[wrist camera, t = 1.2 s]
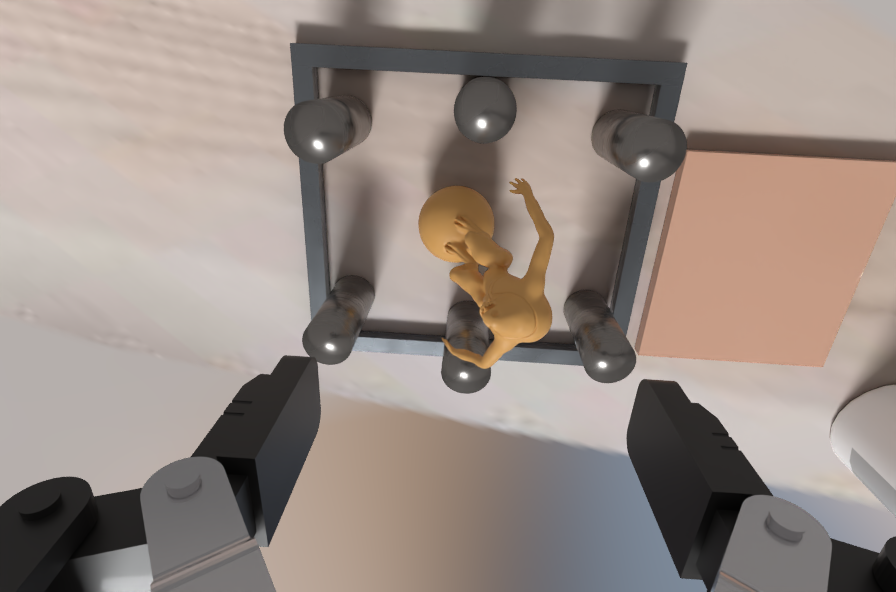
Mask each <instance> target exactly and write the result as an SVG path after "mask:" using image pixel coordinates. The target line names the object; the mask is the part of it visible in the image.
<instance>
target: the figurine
mask: <svg viewBox="0 0 896 592" xmlns="http://www.w3.org/2000/svg"><path fill="white" fill-rule="evenodd" d="M515 180H516V181H517V182H518V184H516V183H513V182H509V183H510V184H512V185H513V186H514V187H515V188H517V190H509V191H510V192H512V193H515V194H522V195H523V196H524V199H525V203H526V207H527V210H528V212H529V214H530V216H531V218H532V220H533V222H534V224H535V227H536V230H537V232H538V234H539V241H538V243H537V246H536V248H535V251H534V254H533V256H532V259H531V262H530V265H529V269H528V271H527V273H526V275H525V276H524V277H523V278H522V279H520V278H518V277H515V276H512V275H511V274H509V273H508V271H507V269H508V268H509V266H510V265H511V263H512V260H513V256H512V254H511V253H510V252H509V251H508V250H506V249H503V248H501V247H500V246H498V245H497V244H496V243H495V242H494V241H493V240H492V236H493V232H494V216H493V212H492V209H491V207H490V205H489V203H488V202H487V201H486V199H485V198H484V197H483V196H482V195H481V194H479V193H478V192H477V191H475V190H473V189H471V188H468V187H464V186H449V187H445V188H443V189H440V190H438V191H437V192H435V193H434V194H433V195H431V196H430V197H429V198H428V200H427V201H426V202H425V204H424V205H423V207H422V209H421V212H420V216H419V233H420V236H421V239H422V241H423V243H424V245H425V246H426V248H427V249H428V250H429V251H430V252H431V253H432V254H433V255H435V256H436V257H438V258H440V259H442V260H444V261H448V262H464V263H465V264H464V265H461V266H457V267H455V268H453V269H452V270H451V271H450V279H451V280H452V281H454V282H456V283H457V284H458V285H459V286H460V287H461V288H462V289H464V290H465V291H466V292H468V293H469V294H470V295H471V296H472V298H473V299H474V301H475V302H476V303H477V305H478V306H479V307H480V315H481V317H482V318H483V322H484V323H485V325H486V326H487V327H489V328H490V330H491V331H492V333H493V334H494V341H493V342H492V343H491V345H490V346H489V347H488V349H487V350H486V352H485V353H484V355H483V357H482V356H481V355H479V354H475V353H473V352H471V351H469V350H465V349H455V348H454V347H453V346H452V345H451V344H450V343H449V342H448V341H447V340H446V339H443V338H442V340H443V342H444V344H445V346H446V347H447V348H448V350H449V351H450V352H451V353H452V354H453V355H454V356H457V357H458V358H460V359H462V360H465V361H469V362H472V363H474V364H475V365H477V366H478V367H480V368H483V369H487V368H489V367H491V366H492V365H493V364H494V363H495V362H497V361H498V360H499V359H500V358H501V356H502V355H503V354H504V353H506V352H508V351H510V350H511V349H513V348H514V347H515V346H516V345H517V344H519V343H522V342H526V343H530V342H535V341H538V340H539V339H541V338H542V337H544V336H545V335H546V334H547V332H548V331H549V329H550V327H551V324H552V310H551V307H550V305H549V303H548V301H547V299H546V297H545V295H544V286H545V273H546V269H547V266H548V262H549V259H550V255H551V250H552V246H553V241H554V233H553V230H552V228H551V226H550V224H549V223H548V222H547V220H546V218H545V217H544V214H543V212H542V210H541V208H540V206H539V204H538V202H537V200H536V199H535V198H534V196H533V193H532V190H531V187H530V185H529V184H528V183H527V181H525V180H524V179H521V180H522V181H523V182H521V181H520V180H519V179H517V178H515ZM478 263H479V264H481V265H483V266H486V267H488V268H489V269H488V270H487V271H486V272H485V273H484V277H483V276H482V274H481V273H479V272H478V267H479V264H478Z"/></svg>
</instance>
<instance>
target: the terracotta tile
mask: <svg viewBox="0 0 896 592" xmlns="http://www.w3.org/2000/svg"><path fill="white" fill-rule="evenodd" d="M895 197H896V161H890V160H872V159H853V158H835V157H817V156H798V155H780V154H761V153H743V152H724V151H706V150H688V149H687V150H686V155H685V158H684V160H683V162H682V164H681V166H680V167H679V168H678V169H677V171H676V175H675V179H674V184H673V188H672V192H671V196H670V200H669V205H668V209H667V213H666V217H665V222H664V226H663V230H662V234H661V239H660V243H659V247H658V251H657V256H656V260H655V264H654V268H653V273H652V277H651V281H650V285H649V290H648V294H647V298H646V302H645V307H644V311H643V315H642V319H641V324H640V328H639V332H638V336H637V341H636V345H635V350H636V352H637V353H638V355H643V356H658V357H674V358H689V359H704V360H720V361H735V362H750V363H766V364H781V365H797V366H812V367H823V365H824V363H825V361H826V358H827V356H828V354H829V351H830V349H831V347H832V344H833V342H834V340H835V337H836V335H837V333H838V330H839V328H840V326H841V323H842V321H843V319H844V316H845V314H846V312H847V309H848V307H849V304H850V302H851V300H852V297H853V295H854V293H855V290H856V288H857V286H858V283H859V281H860V279H861V276H862V274H863V272H864V269H865V267H866V265H867V262H868V260H869V258H870V255H871V253H872V251H873V248H874V246H875V244H876V241H877V239H878V237H879V234H880V232H881V230H882V227H883V225H884V222H885V220H886V218H887V215H888V213H889V211H890V208H891V206H892V204H893V201H894V199H895Z"/></svg>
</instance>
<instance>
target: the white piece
mask: <svg viewBox="0 0 896 592" xmlns="http://www.w3.org/2000/svg"><path fill="white" fill-rule="evenodd" d="M830 441H831V445H832V448H833V452H834V453H835V455H836V456H837V457H838V458H839V459H840V460H841V461H842V462H843V463H844V464H845V465H846V466H847V467H848V468H849V469H850V470H851V471H852V473H853V474H854V475H855V476H856V477H857V478H858V479H859V480H860V481H861V482H862V483H863V484H864V485H865V486H866V487H867V488H868V489H869V490H870V491H871V492H872V493H873V494H874V495H875V497H876V498H877V499H878V500H879V501H880V502H881V503H882V504H883V505H884V506H885V507H886V508H887V509H888V510H889V511H890V512H891V513H892V514H893V515H894V516H895V517H896V385H887V386H882V387H880V388H877V389H874V390H871V391H868V392H866V393H864V394H862V395H861V396H859V397H857V398H856V399H854V400H852V401H851V402H850V403H849V404H848V405H847V406H846V407H845V408H844V409H843V410H842V411H840V412H839V414H838V415H837V417H836V419H835V421H834V422H833V424H832V427H831V433H830Z"/></svg>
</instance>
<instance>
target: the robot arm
mask: <svg viewBox="0 0 896 592" xmlns="http://www.w3.org/2000/svg"><path fill="white" fill-rule="evenodd" d="M320 406H321V405H320V392H319V378H318V365H317V360H316V358H315V357H302V356H287V355H285V356H283V357H282V358H281V360H280V361H279V363H278V364H277V366H276V367H275V369H274V370H273V372H272V373H271V375H268V374H260V375H258V376H257V377H255V378H254V379H252V380H251V381H249V382H248V383H246V384H245V385H243V386H242V388H241V389H240V390H239V392H238V393H237V395H236V396H235V397H234V399H233V400H232V403H230V404H229V405H228V407H227V408H226V410H225V411H224V414H223V415H221V416H220V418H219V419H218V420H217V422H216V423H215V425H214V426H213V427H212V429H211V430H210V431H209V433H208V434H207V435H206V437H205V438H204V439H203V441H202V442H201V444H200V445H199V446H198V448H197V449H196V450H195V452H194V453H193V455H192V456H191V457H190V458H185V459H182V460H178V461H175V462H173V463H170V464H169V465H167V466H165V467H163V468H161V469H160V470H158V471H157V472H156V473H154V474H153V475H152V476H151V477H150V478H149V479H148V480H147V482H146V483H145V484H144V486H143V488H139V489H135V490H129V491H124V492H117V493H112V494H106V495H101V496H95V497H94V496H93V493H92V490H91V487H90V485H89V484H88V482H86V481H85V480H83V479H81V478H77V477H60V478H54V479H50V480H46V481H43V482H40V483H37V484H35V485H32V486H30V487H28V488H26V489H24V490H22V491H21V492H19V493H17V494H15V495H14V496H12V497H11V498H10V499H9V500H7V501H6V502H5V503H4V504H2V506H0V592H276V590H275V588H274V585H273V582H272V580H271V577H270V574H269V572H268V569H267V567H266V564H265V561H264V559H263V556H262V554H261V551H260V548H259V546H260V547H269V544H270V542H271V539H272V537H273V535H274V532H275V530H276V528H277V526H278V523H279V521H280V519H281V516H282V514H283V512H284V509H285V507H286V504H287V502H288V500H289V498H290V495H291V493H292V490H293V488H294V486H295V483H296V481H297V479H298V476H299V474H300V472H301V469H302V467H303V465H304V462H305V460H306V458H307V455H308V453H309V451H310V448H311V446H312V443H313V441H314V439H315V437H316V434H317V432H318V428H319V423H320V415H321V407H320ZM627 449H628V453H629V456H630V459H631V461H632V464H633V466H634V468H635V471H636V473H637V475H638V478H639V480H640V483H641V485H642V487H643V490H644V492H645V494H646V497H647V499H648V502H649V504H650V506H651V509H652V511H653V514H654V516H655V518H656V521H657V523H658V526H659V528H660V530H661V533H662V535H663V538H664V540H665V542H666V544H667V547H668V550H669V552H670V554H671V557H672V559H673V562H674V564H675V566H676V569H677V571H678V573H679V576H680V578H685V579H700V580H703V582H704V584H705V586H706V588H707V592H896V537H893V538H890V539H889V540H888V541H887V542H886V544H885V545H884V547H883V549H882V550H881V552H880V553H877V552H873V551H870V550H867V549H863V548H860V547H857V546H854V545H850V544H847V543H844V542H841V541H837V540H834V539H831V538H830V537H829V535H828V533H827V531H826V530H825V529H824V527H823V526H822V525H821V524H820V523H819V522H818V521H817V520H816V519H815V518H814V517H813V516H811V515H810V514H809V513H808V512H806V511H805V510H803V509H802V508H800V507H798V506H796V505H795V504H793V503H791V502H788V501H786V500H783V499H781V498H777V497H774V496H773V495H772V493H771V492H770V491H769V489H768V488H767V486H766V485H765V484H764V482H763V481H762V479H761V478H760V477H759V475H758V474H757V472H756V471H755V470H754V468H753V467H752V466H751V464H750V463H749V461H748V460H747V459H746V457H745V456H744V454H743V453H742V452H741V451H739V450H738V446H737V445H736V443H735V442H734V441H733V439H732V438H731V437H729V434H728V432H727V431H726V429H725V428H724V427H723V425H722V424H721V423H720V421H719V420H718V418H717V417H715V416H714V415H713V414H712V413H710V412H709V411H708V410H706V409H705V408H704V407H702V406H701V405H700V404H699V403H691V402H690V400H689V399H688V397H687V396H686V394H685V393H684V392H683V390H682V389H681V387H680V386H679V384H678V383H677V382H675V381H663V380H648V379H643V380H642V381H641V382H640V384H639V386H638V390H637V394H636V398H635V402H634V406H633V410H632V414H631V418H630V422H629V425H628V430H627Z"/></svg>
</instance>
